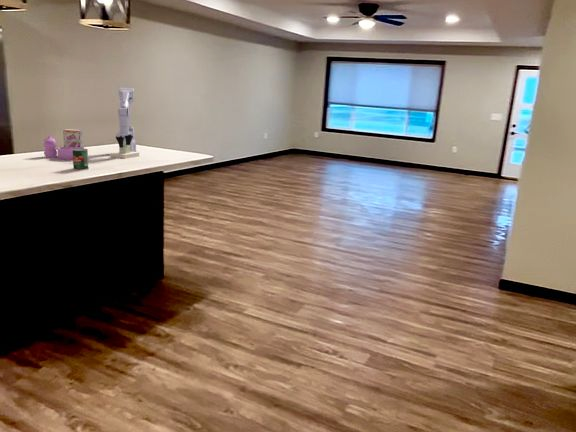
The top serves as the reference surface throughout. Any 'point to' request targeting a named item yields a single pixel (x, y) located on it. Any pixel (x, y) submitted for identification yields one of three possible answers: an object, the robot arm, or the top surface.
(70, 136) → the candy bar box
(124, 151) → the sage cube
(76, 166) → the canned tomato
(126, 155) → the cream block
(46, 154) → the container set
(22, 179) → the top surface
